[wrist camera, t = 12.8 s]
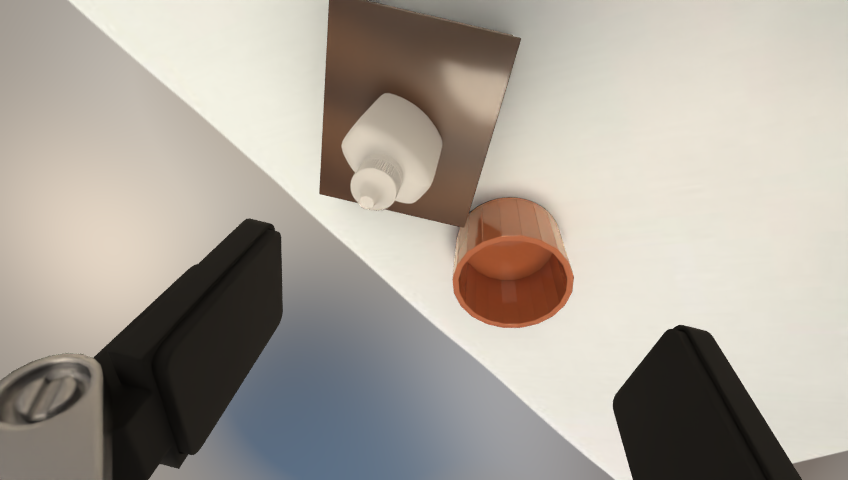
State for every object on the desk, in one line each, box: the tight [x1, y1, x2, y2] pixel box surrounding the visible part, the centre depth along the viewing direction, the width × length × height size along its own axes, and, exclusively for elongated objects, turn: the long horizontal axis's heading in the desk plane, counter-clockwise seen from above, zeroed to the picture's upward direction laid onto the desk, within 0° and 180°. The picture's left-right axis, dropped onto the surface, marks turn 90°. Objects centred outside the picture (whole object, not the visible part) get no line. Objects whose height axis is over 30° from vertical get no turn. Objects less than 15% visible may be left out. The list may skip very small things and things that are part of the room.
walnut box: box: [319, 0, 521, 228], centre depth 30 cm, size 14×12×4 cm
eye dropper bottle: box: [341, 93, 442, 211], centre depth 23 cm, size 4×6×12 cm
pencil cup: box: [453, 198, 574, 328], centre depth 35 cm, size 10×10×6 cm
